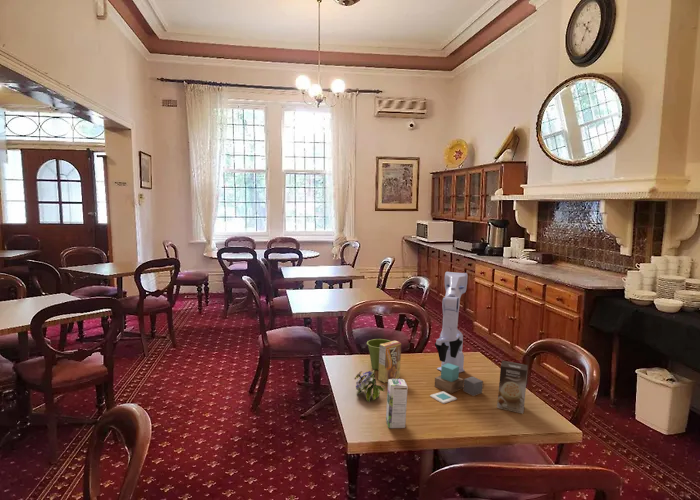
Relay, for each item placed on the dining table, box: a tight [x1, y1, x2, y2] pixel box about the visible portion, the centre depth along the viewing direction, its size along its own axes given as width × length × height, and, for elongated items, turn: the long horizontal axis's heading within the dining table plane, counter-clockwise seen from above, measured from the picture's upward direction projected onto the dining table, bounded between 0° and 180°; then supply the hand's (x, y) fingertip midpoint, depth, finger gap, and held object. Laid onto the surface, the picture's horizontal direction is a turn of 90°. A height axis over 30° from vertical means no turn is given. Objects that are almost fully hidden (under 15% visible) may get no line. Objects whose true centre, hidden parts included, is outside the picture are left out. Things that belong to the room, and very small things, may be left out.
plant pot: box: [366, 338, 392, 371], centre depth 192 cm, size 12×12×11 cm
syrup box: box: [385, 378, 409, 429], centre depth 144 cm, size 6×6×14 cm
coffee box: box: [496, 359, 529, 414], centre depth 158 cm, size 9×6×16 cm
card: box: [429, 390, 458, 405], centre depth 165 cm, size 7×7×1 cm
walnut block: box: [434, 375, 465, 394], centre depth 174 cm, size 8×8×4 cm
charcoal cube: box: [462, 376, 484, 397], centre depth 171 cm, size 5×5×5 cm
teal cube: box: [440, 363, 460, 382], centre depth 174 cm, size 5×5×5 cm
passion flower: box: [354, 369, 386, 403], centre depth 165 cm, size 11×11×12 cm
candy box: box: [377, 340, 402, 383], centre depth 180 cm, size 9×4×15 cm, turn 129°
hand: (447, 359), depth 177 cm, fingers open, 7 cm apart
